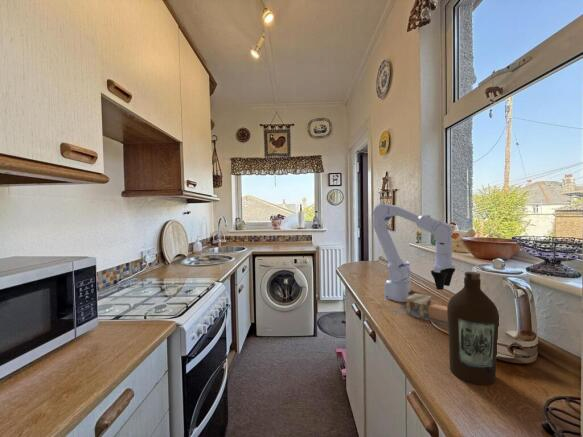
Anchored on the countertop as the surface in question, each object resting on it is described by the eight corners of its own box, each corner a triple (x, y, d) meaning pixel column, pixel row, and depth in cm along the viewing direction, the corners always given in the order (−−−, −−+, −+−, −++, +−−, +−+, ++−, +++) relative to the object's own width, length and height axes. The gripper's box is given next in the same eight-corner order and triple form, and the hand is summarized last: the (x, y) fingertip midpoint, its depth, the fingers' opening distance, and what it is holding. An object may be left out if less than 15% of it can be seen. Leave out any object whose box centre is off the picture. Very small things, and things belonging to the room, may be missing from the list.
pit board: (392, 314, 107) (392, 311, 107) (403, 307, 114) (403, 304, 114) (453, 330, 92) (453, 326, 92) (461, 321, 99) (461, 318, 99)
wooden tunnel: (406, 313, 104) (406, 298, 104) (415, 308, 110) (415, 293, 110) (423, 318, 100) (423, 301, 100) (431, 311, 106) (431, 296, 105)
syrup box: (411, 292, 135) (411, 262, 135) (398, 291, 136) (398, 262, 136) (408, 289, 141) (408, 260, 140) (396, 288, 142) (396, 260, 141)
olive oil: (444, 358, 75) (444, 267, 74) (490, 366, 71) (491, 269, 70) (450, 381, 65) (451, 276, 64) (505, 391, 61) (506, 279, 60)
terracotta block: (428, 317, 101) (428, 306, 100) (432, 314, 103) (432, 303, 103) (462, 325, 93) (462, 314, 93) (465, 322, 96) (465, 310, 95)
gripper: (448, 257, 102) (448, 293, 102) (460, 252, 112) (460, 285, 112) (428, 254, 107) (428, 289, 107) (441, 250, 117) (441, 282, 117)
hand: (443, 287), depth 110 cm, fingers open, 7 cm apart
